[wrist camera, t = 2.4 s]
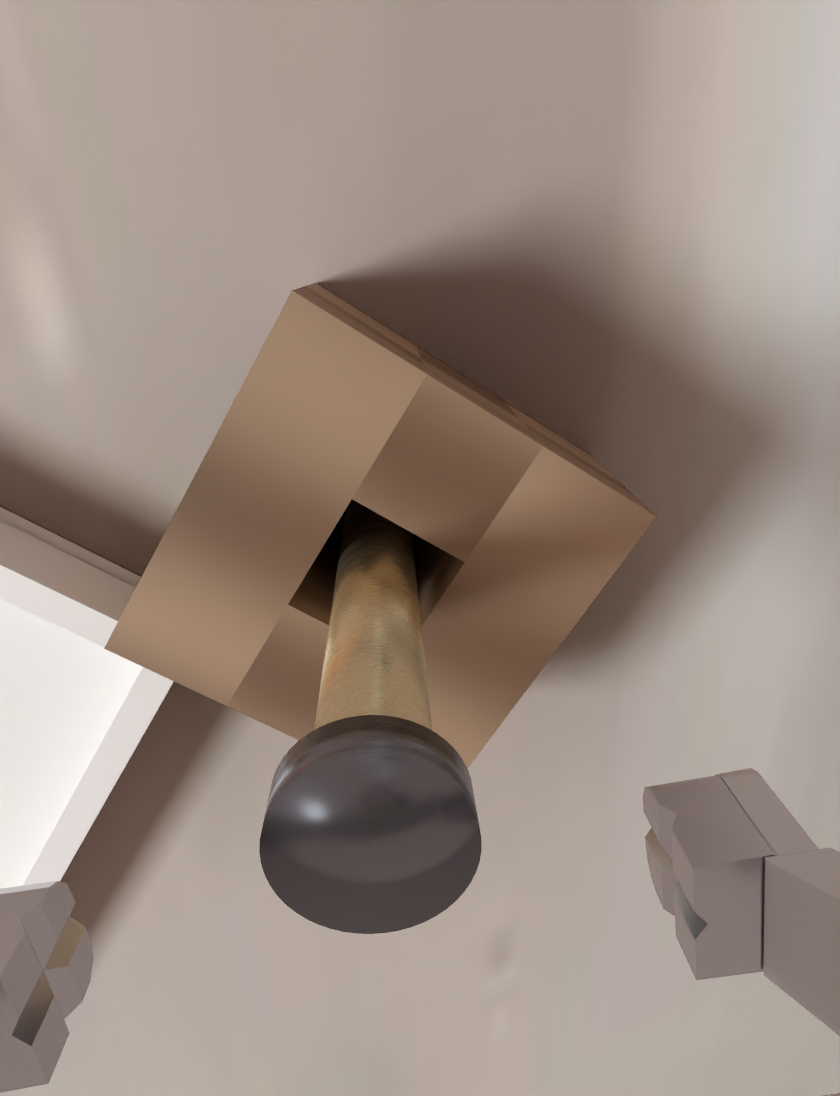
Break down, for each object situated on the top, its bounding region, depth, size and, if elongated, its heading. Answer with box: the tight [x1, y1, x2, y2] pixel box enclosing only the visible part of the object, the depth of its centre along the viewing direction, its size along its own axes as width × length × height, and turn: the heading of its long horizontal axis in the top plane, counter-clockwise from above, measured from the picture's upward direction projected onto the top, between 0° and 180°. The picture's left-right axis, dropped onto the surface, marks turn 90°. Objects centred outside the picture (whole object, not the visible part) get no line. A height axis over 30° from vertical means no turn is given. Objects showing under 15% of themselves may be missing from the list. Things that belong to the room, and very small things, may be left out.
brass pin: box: [260, 499, 481, 934], centre depth 17 cm, size 3×3×15 cm
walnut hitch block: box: [104, 283, 656, 769], centre depth 21 cm, size 10×10×6 cm
